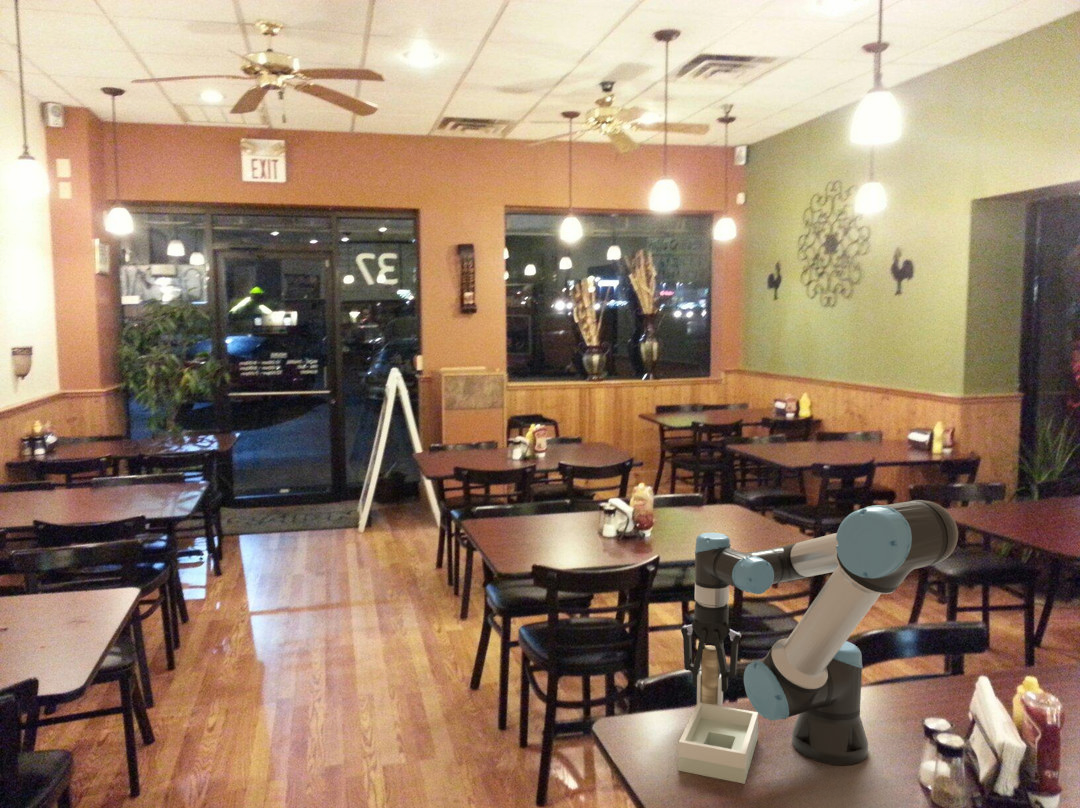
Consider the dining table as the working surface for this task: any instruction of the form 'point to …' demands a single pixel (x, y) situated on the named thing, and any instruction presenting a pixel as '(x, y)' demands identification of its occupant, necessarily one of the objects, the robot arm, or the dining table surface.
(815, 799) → the dining table surface
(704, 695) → the peg
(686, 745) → the bore tray
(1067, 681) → the dining table surface
